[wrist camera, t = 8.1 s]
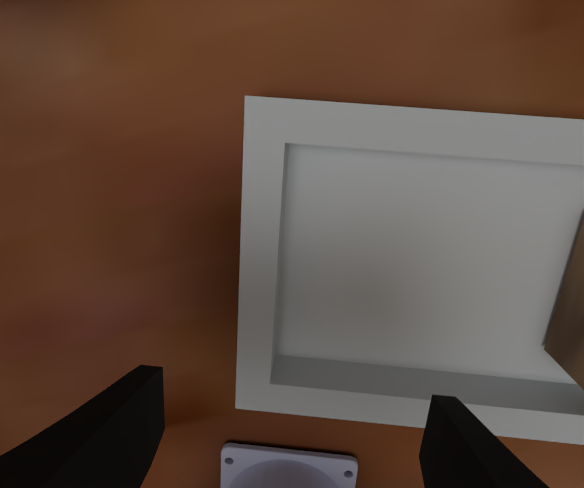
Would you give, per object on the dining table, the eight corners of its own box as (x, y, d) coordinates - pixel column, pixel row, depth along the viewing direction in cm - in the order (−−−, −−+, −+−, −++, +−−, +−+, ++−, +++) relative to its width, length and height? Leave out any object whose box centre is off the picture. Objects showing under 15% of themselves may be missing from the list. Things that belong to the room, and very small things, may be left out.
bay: (706, 416, 21) (767, 463, 18) (246, 370, 22) (235, 408, 19) (838, 141, 17) (946, 145, 14) (256, 99, 18) (245, 95, 15)
